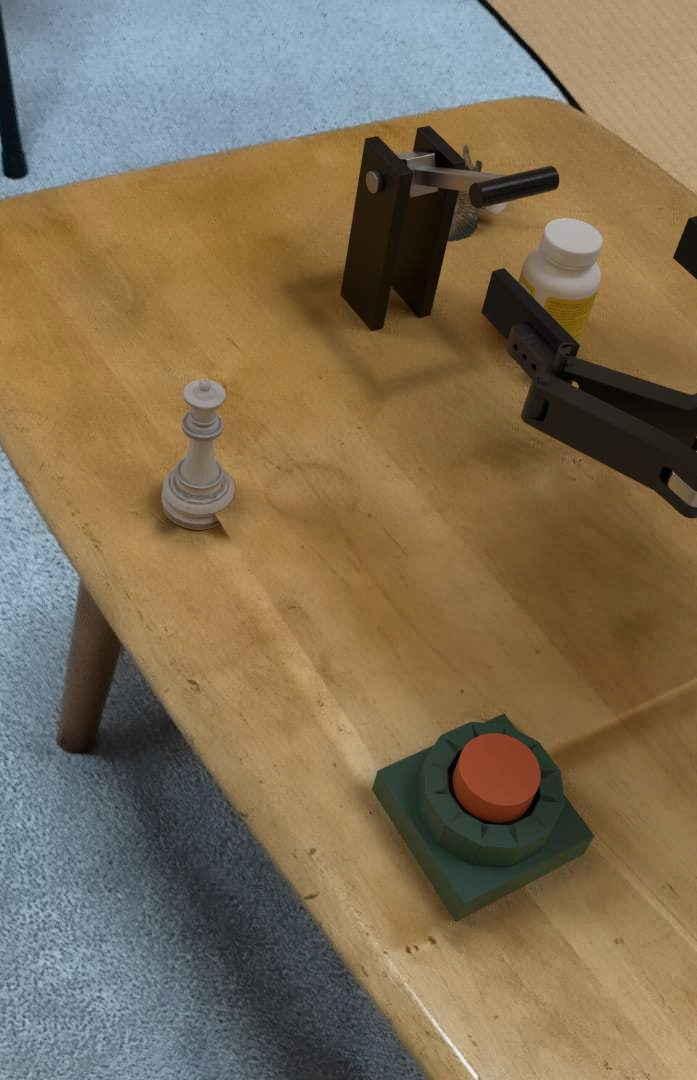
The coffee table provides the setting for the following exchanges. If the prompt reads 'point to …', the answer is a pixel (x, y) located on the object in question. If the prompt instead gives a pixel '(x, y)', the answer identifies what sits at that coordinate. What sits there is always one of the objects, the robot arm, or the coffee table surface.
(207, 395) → the chess piece
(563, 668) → the coffee table surface
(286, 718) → the coffee table surface
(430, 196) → the press bracket
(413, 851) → the button base
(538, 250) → the supplement bottle
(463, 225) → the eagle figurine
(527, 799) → the button
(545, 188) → the press lever
